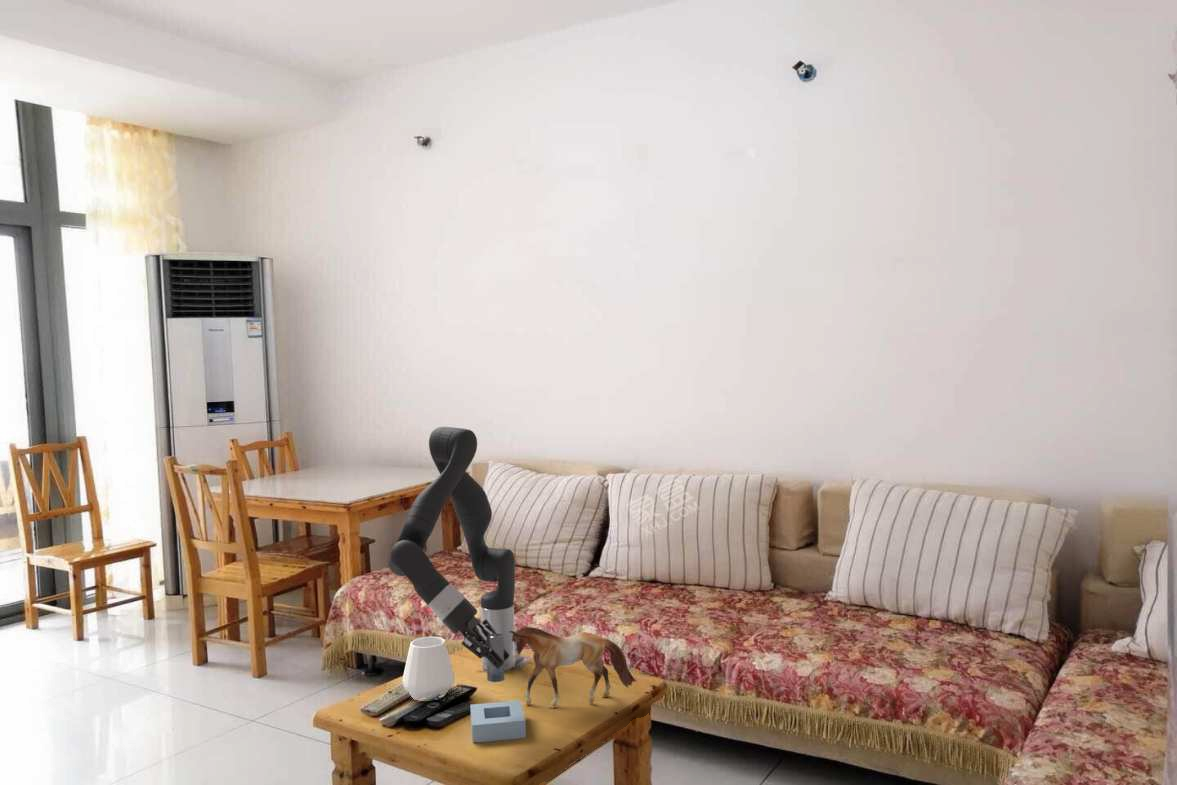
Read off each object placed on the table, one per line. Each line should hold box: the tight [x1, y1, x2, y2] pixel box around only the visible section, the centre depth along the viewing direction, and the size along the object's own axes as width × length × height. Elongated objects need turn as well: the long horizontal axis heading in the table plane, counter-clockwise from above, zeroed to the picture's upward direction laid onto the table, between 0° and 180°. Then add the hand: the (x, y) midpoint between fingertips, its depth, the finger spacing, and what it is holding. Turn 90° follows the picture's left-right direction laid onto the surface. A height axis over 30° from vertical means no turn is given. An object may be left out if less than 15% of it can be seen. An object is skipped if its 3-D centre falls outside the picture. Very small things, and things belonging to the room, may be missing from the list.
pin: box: [486, 634, 506, 683], centre depth 201 cm, size 4×4×10 cm
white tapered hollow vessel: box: [402, 636, 456, 701], centre depth 224 cm, size 13×13×14 cm
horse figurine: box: [509, 626, 637, 708], centre depth 216 cm, size 31×8×21 cm, turn 100°
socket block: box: [470, 699, 527, 743], centre depth 202 cm, size 12×12×4 cm
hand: (503, 661), depth 201 cm, fingers closed on pin, 4 cm apart
